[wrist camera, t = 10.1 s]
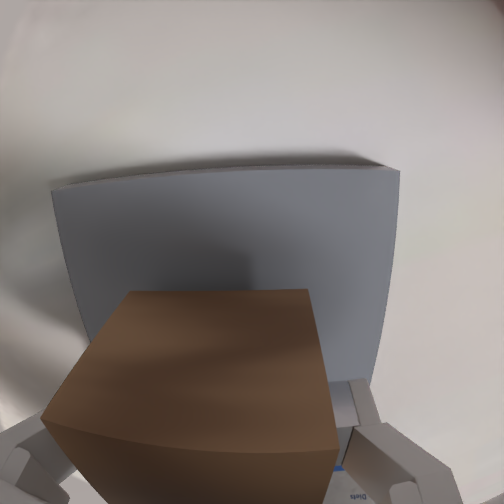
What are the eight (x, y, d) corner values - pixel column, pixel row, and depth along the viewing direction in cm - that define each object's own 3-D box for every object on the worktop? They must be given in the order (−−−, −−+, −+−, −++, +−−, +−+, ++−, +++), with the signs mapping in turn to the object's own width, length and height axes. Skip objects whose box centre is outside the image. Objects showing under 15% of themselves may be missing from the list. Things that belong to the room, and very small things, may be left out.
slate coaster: (386, 165, 9) (399, 170, 8) (353, 408, 13) (358, 426, 12) (69, 184, 10) (51, 191, 9) (131, 405, 14) (124, 421, 13)
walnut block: (308, 288, 8) (340, 448, 4) (300, 411, 10) (309, 538, 6) (129, 290, 9) (39, 418, 4) (163, 407, 11) (127, 522, 6)
